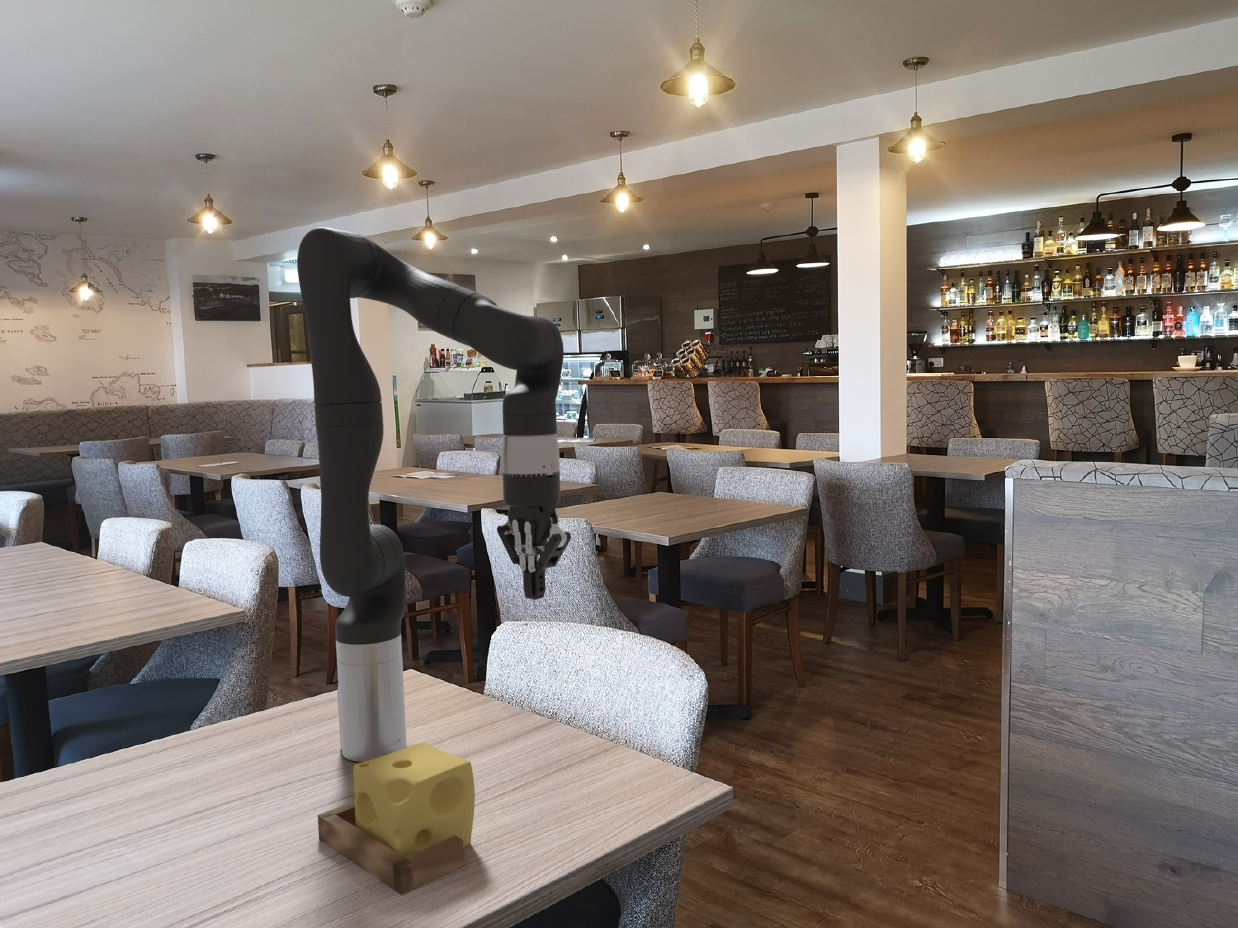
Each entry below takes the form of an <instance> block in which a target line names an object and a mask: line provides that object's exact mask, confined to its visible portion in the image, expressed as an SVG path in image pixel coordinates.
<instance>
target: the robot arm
mask: <svg viewBox="0 0 1238 928" xmlns="http://www.w3.org/2000/svg"><path fill="white" fill-rule="evenodd" d="M296 258H297V259H296V266H297V267H296V268H297V275H298V276H297V277H298V284H299V289H300V293H301V294H300V295H301V299H302V305H303V306H302V307H303V310H304V317H305V321H306V328H307V335H308V344H309V351H310V353H309V354H310V363H311V371H312V372H311V373H312V380H313V383H312V384H313V404H314V418H315V419H314V420H315V430H316V439H317V448H318V461H319V462H318V465H319V481H320V483H319V485H320V526H319V527H320V528H319V529H320V531H319V532H320V533H319V564H320V570H321V572H322V576H323V578H324V580H325V582H326V584H327V585H328V587H329V588H330V589H331V590H332V591H333V592H334V593H335V594H337V595H340V596H341V597H342V596H343V597H346V598H347V597H348V601H347V604H346V606H345V608H344V609H343V610H342V612H341V613H340V614H339V616H338V617H337V619H336V621H335V625H334V627H335V628H334V629H335V647H336V649H335V650H336V663H337V665H336V666H337V679H338V680H337V682H338V683H337V684H338V686H337V688H336V689H337V706H338V707H337V709H338V726H339V741H340V742H339V743H340V744H339V745H340V749H341V754H342V757H344V759H346V760H349V761H353V762H358V763H361V762H365V761H368V760H372V759H375V758H378V757H382V756H385V755H388V754H390V753H393V752H396V751H399V750H402V749H404V748H407V744H408V743H407V730H406V729H407V728H406V727H407V726H406V705H405V687H404V683H405V682H404V669H403V668H404V665H403V650H402V633H401V632H402V629H401V628H402V627H401V626H402V621H403V620H402V619H403V617H404V614H405V610H406V561H405V559H406V557H405V553H404V548H403V544H402V543H401V540H400V538H399V536H398V535H397V534H396V533H395V531H393V529H392V528H389V526H388V527H387V526H386V525H383V524H377V523H376V524H374V523H373V524H370V516H369V493H370V487H371V483H372V479H373V476H374V473H375V470H376V467H377V463H378V461H379V456H380V455H381V451H382V445H383V441H384V440H383V439H384V416H383V414H384V413H383V402H382V400H383V399H382V393H381V388H380V385H379V381H378V379H377V376H376V375H375V372H374V371H373V368H372V366H371V364H370V363H369V361H368V358H367V357H366V355H365V353H364V351H363V349H362V347H361V345H360V343H359V341H358V338H357V335H356V333H355V329H354V328H355V327H354V325H353V317H352V305H351V304H352V303H351V299H356V298H361V299H366V300H370V301H375V302H380V303H384V304H388V305H391V306H393V307H396V308H397V309H400V310H402V311H403V312H406V313H407V314H408V315H410V317H413V319H415V320H416V321H417V322H419V323H420V324H421V325H423V326H424V327H426V328H428V329H429V330H431V331H433V332H435V333H437V334H440V335H442V336H444V337H446V338H448V339H451V340H453V341H455V342H457V343H459V344H462V345H465V346H466V347H467V346H468V347H470V348H472V349H473V350H474V351H475V352H476V353H478V354H480V355H482V356H483V357H485V359H488V360H489V361H491V362H493V363H495V364H497V365H499V366H501V367H503V368H507V369H509V370H514V371H516V373H515V379H514V380H515V381H514V385H513V386H514V387H513V388H512V389H511V390H509V391H508V392H506V394H505V395H504V397H503V400H502V431H503V432H502V433H503V436H502V448H501V460H502V461H501V463H502V464H501V465H502V466H501V467H502V491H503V492H502V493H503V494H502V495H503V496H502V497H503V504H504V505H505V506H507V507H509V510H508V513H507V521H506V522H505V523H504V524H501V525H498V526H497V528H496V533H497V534H498V536H499V539H500V541H501V542H502V545H503V546H504V549H505V550H506V553H507V555H508V557H509V559H510V561H511V563H512V564H513V565H517V566H519V567H520V568H519V569H520V570H521V571H522V578H523V579H522V581H523V582H522V585H523V591H524V592H523V593H524V597H525V598H526V599H528V600H534V601H536V600H539V599H543V598H544V596H545V594H546V570H548V569H550V568H554V567H556V566H557V564H558V562H559V561H560V559H561V558H562V556H563V553H564V552H565V551H566V549H567V547H568V545H569V543H570V541H571V539H572V534H571V532H569V531H563V529H561V527H560V526H559V525H558V524H559V517H558V514H557V511H556V507H557V505H558V504H559V503H560V502H561V473H560V469H561V468H560V448H559V443H558V441H559V440H558V434H557V432H558V431H557V430H558V426H557V421H558V420H557V406H556V404H557V403H556V402H557V401H556V400H557V397H558V392H559V388H560V383H561V378H562V372H563V364H564V354H565V353H564V351H565V350H564V342H563V338H562V334H561V331H560V329H559V328H558V326H557V325H556V324H555V323H554V322H553V321H552V320H550V319H548V318H546V317H542V316H541V317H540V316H533V315H526V314H525V315H524V314H519V313H516V312H515V311H510V310H507V309H504V308H502V307H500V306H498V305H497V303H496V302H495V301H493V300H492V299H491V298H489V297H487V296H485V295H483V294H480V293H478V292H476V291H473V290H471V289H469V288H467V287H464V286H461V285H459V284H456V283H454V282H451V281H449V280H445V279H443V278H441V277H438V276H436V275H433V274H430V273H428V272H425V271H423V270H421V269H419V268H417V267H414V266H413V265H411V264H409V263H408V262H406V261H404V260H402V259H400V258H399V257H397V256H396V255H394V254H393V253H391V252H390V251H389V250H386V249H385V248H384V247H382V246H381V245H379V244H377V242H375V241H373V240H371V239H370V238H368V237H366V236H365V235H363V234H360V233H357V232H353V231H352V232H351V231H346V230H342V229H335V228H331V227H315V228H312V229H311V230H309V231H308V232H307V233H306V234H305V235H304V236H303V237H302V240H301V241H300V244H299V246H298V251H297V257H296Z"/></svg>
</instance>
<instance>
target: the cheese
mask: <svg viewBox="0 0 1238 928" xmlns="http://www.w3.org/2000/svg"><path fill="white" fill-rule="evenodd" d="M472 767H473V766H472V763H471V761H469V760H467V759H464V758H463V757H459V756H457V755H456V756H455V755H453V754H450V753H447V752H445V751H443V750H440V749H439V748H436V747H434V746H433V745H431V744H429V743H427V742H426V741H423V742H421V743H418V744H414V745H411V746H408V747H407V746H406V748H404V749H402V750H399V751H396V752H393V753H390V754H388V755H385V756H382V757H378V758H375V759H372V760H368V761H365V762H358V763H356V764H355V763H354V764H353V767H352V770H353V794H354V801H355V819H356V827H357V828H358V829H360V830H361V831H363V832H365V833H366V834H368V835H370V836H371V837H373V838H374V839H376V840H378V841H379V842H381V843H383V844H384V845H386V846H387V847H389V848H391V849H392V850H394V851H395V852H397V853H399V854H400V855H402V856H404V857H407V856H409V855H412V854H414V853H416V852H418V851H421V850H423V849H425V848H427V847H430V846H432V845H434V844H436V843H439V842H441V841H443V840H445V839H448V838H450V837H452V836H454V835H456V836H457V837H459V838H461V839H463V848H464V847H467V846H470V845H471V843H472V834H473V833H472V832H473V827H474V826H473V825H474V815H475V804H476V800H475V799H476V791H475V789H476V788H475V781H474V780H475V779H474V778H475V777H474V772H473V768H472Z"/></svg>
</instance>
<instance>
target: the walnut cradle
mask: <svg viewBox="0 0 1238 928" xmlns="http://www.w3.org/2000/svg"><path fill="white" fill-rule="evenodd" d="M317 828H318V840H320V841H321V842H323V844H326V845H327V846H329V848H331V849H333V850H334V851H336V852H338V854H340V855H342V856H343V857H345V859H348V860H349V861H351V862H352V863H353V864H355V865H357V866H358V867H360V868H361V869H362V870H364V871H366V872H367V873H369V874H370V875H372V876H373V877H374V878H376V879H378V880H379V881H380V882H382V883H383V884H385V885H387V886H388V887H389V888H391V889H392V890H394V891H395V892H397V893H398V894H400V895H401V896H403V895H405V894H406V893H409V892H411V891H413V890H416V889H418V888H419V887H423V886H424V885H426V884H429V883H430V882H432V881H435V880H436V879H438V878H440V877H443V876H445V875H447V874H448V873H449V874H450V873H452V872H454V871H456V870H457V869H460V868H461V867H464V866H465V854H464V847H463V839H461V838H459V837H457V836H456V835H454V836H452V837H450V838H448V839H445V840H443V841H441V842H439V843H436V844H434V845H432V846H430V847H427V848H425V849H423V850H421V851H418V852H416V853H414V854H412V855H409V856H407V857H404V856H402V855H400V854H399V853H397V852H395V851H394V850H392V849H391V848H389V847H387V846H386V845H384V844H383V843H381V842H379V841H378V840H376V839H374V838H373V837H371V836H370V835H368V834H366V833H365V832H363V831H361V830H360V829H358V828H357V827H356V819H355V800H354V801H351V802H348V803H345V804H343V805H340V806H338V807H335V808H332V809H330V810H327V811H325V812H322V813H320V814H317Z"/></svg>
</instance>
